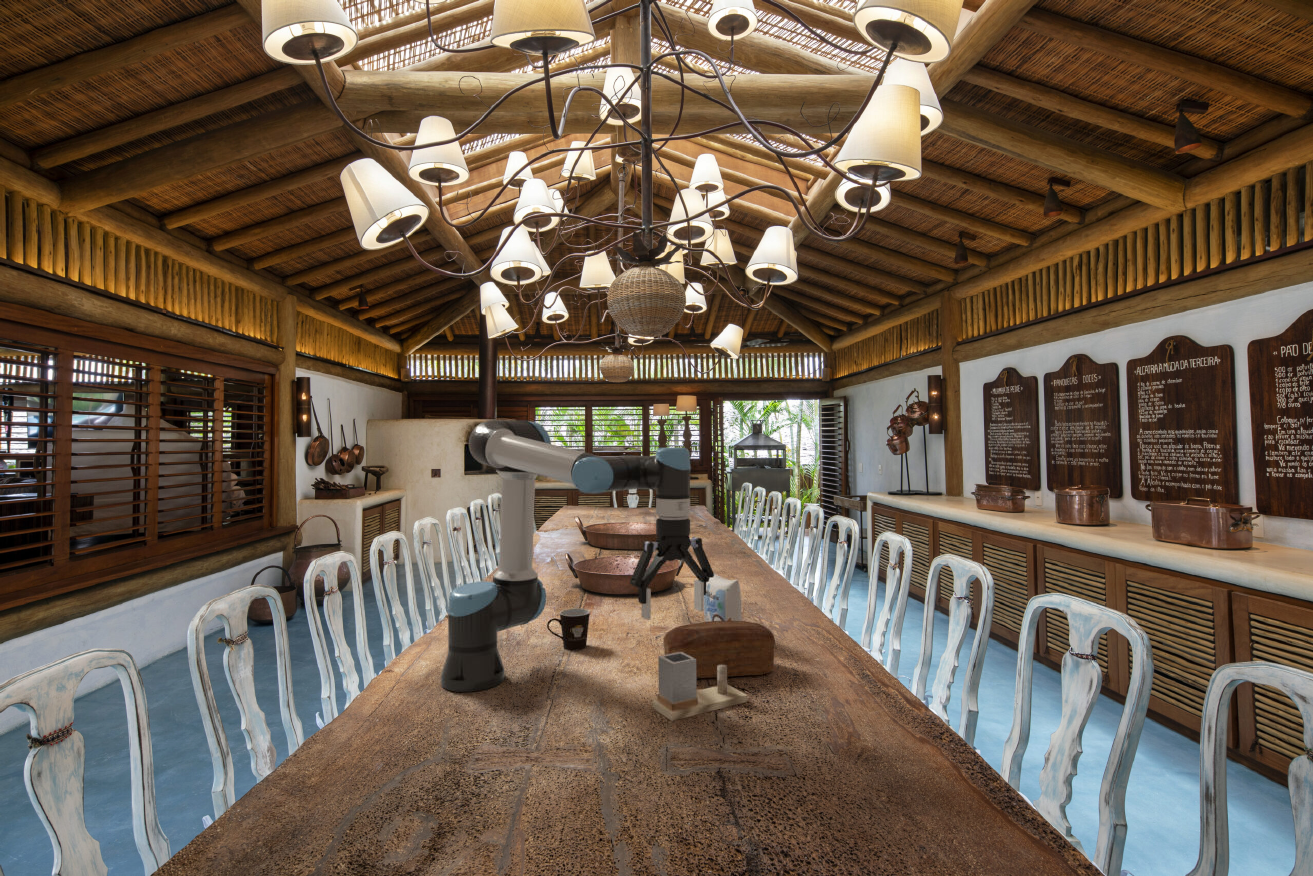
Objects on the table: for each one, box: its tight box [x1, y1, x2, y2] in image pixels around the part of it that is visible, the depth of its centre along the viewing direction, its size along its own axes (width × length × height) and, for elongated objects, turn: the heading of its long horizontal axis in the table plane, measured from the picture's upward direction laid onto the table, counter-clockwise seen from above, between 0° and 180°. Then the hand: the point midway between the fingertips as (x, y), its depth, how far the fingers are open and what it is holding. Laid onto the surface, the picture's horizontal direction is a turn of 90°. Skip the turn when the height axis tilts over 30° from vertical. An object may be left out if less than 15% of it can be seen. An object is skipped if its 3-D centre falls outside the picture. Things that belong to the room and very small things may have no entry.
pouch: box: [703, 572, 743, 622], centre depth 193 cm, size 8×19×20 cm, turn 20°
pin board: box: [652, 665, 748, 722], centre depth 146 cm, size 20×8×8 cm, turn 120°
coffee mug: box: [546, 608, 591, 652], centre depth 188 cm, size 12×9×10 cm
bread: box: [663, 620, 776, 680], centre depth 167 cm, size 14×28×12 cm, turn 99°
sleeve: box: [657, 652, 698, 711], centre depth 143 cm, size 6×6×10 cm
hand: (673, 614), depth 143 cm, fingers open, 13 cm apart
